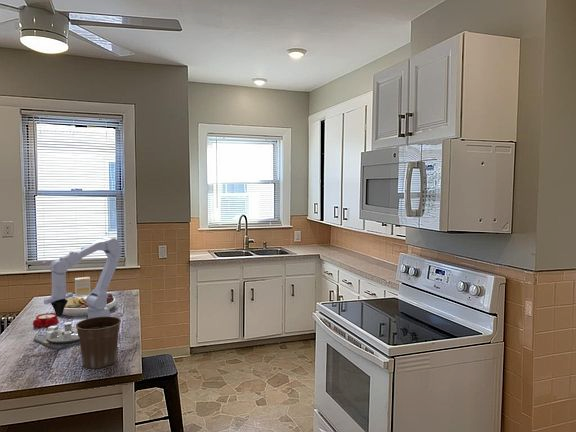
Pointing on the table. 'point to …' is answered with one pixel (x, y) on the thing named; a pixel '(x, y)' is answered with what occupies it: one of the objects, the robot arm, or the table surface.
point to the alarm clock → (45, 320)
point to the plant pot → (98, 341)
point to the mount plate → (55, 345)
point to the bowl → (83, 305)
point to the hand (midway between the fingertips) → (59, 316)
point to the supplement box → (82, 286)
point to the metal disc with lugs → (62, 334)
